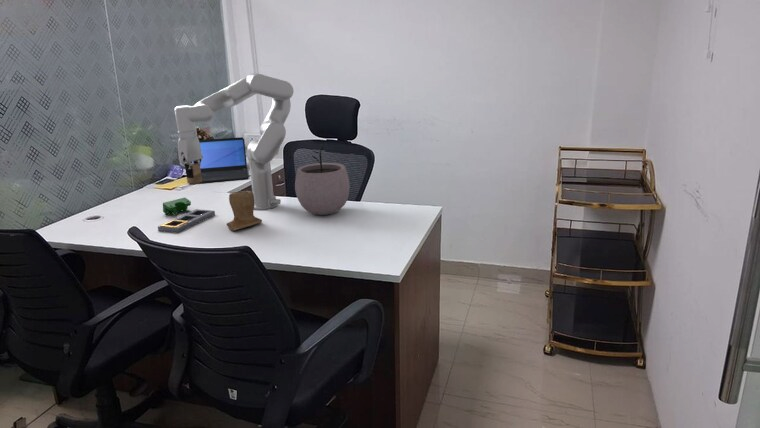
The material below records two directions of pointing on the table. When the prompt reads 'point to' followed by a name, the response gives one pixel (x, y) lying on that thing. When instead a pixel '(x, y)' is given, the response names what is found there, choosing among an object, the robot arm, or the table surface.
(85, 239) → the table surface
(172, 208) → the green toy truck
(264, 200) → the robot arm
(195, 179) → the peg
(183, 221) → the grey slotted board
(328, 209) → the plant pot
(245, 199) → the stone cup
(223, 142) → the laptop
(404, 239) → the table surface
